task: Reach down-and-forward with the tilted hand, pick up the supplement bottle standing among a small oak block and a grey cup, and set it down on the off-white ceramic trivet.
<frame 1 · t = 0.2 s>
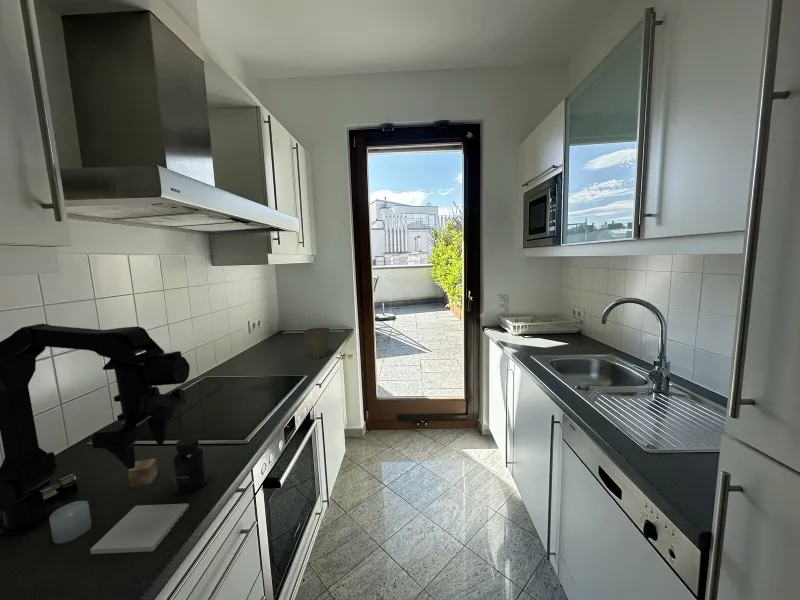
hand: (147, 455, 76), 14 cm above the worktop, tool pointing down, fingers open, 9 cm apart
plant pot: (318, 357, 201), on the worktop
trivet: (144, 528, 74), on the worktop
grey cup: (72, 532, 74), on the worktop
oak block: (144, 480, 91), on the worktop
supplement bottle: (191, 486, 88), on the worktop
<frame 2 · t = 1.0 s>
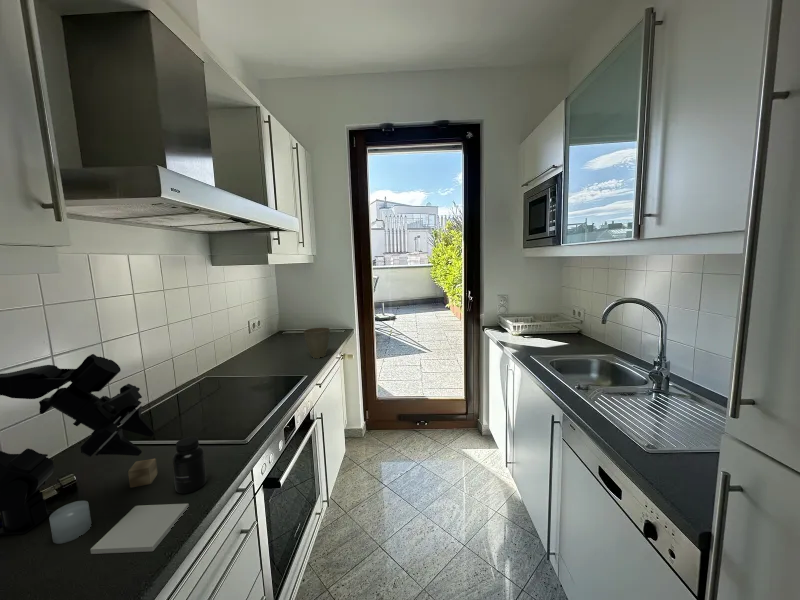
hand: (147, 443, 83), 13 cm above the worktop, tool tilted 45°, fingers open, 9 cm apart
nothing on the worktop moved.
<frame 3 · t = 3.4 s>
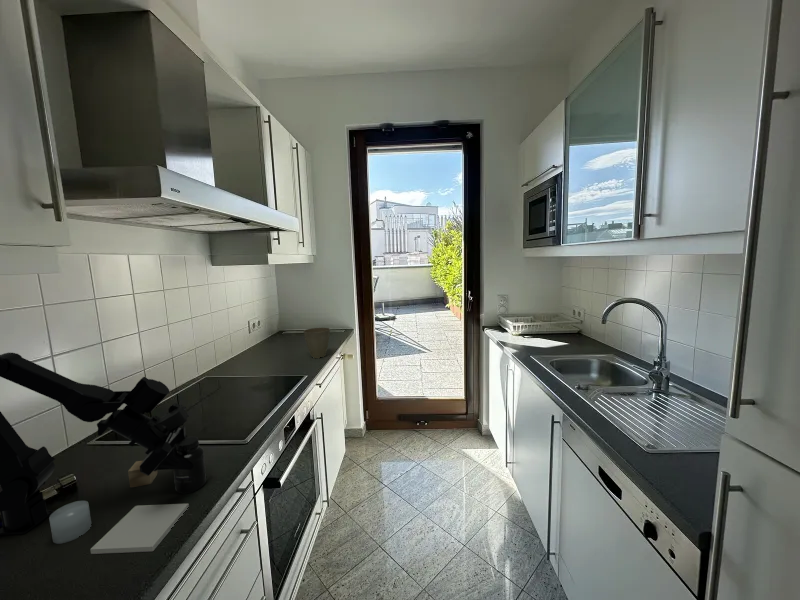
hand: (195, 459, 87), 7 cm above the worktop, tool tilted 45°, fingers closed on supplement bottle, 7 cm apart
supplement bottle: (191, 486, 88), on the worktop, touching gripper
everything else where it was.
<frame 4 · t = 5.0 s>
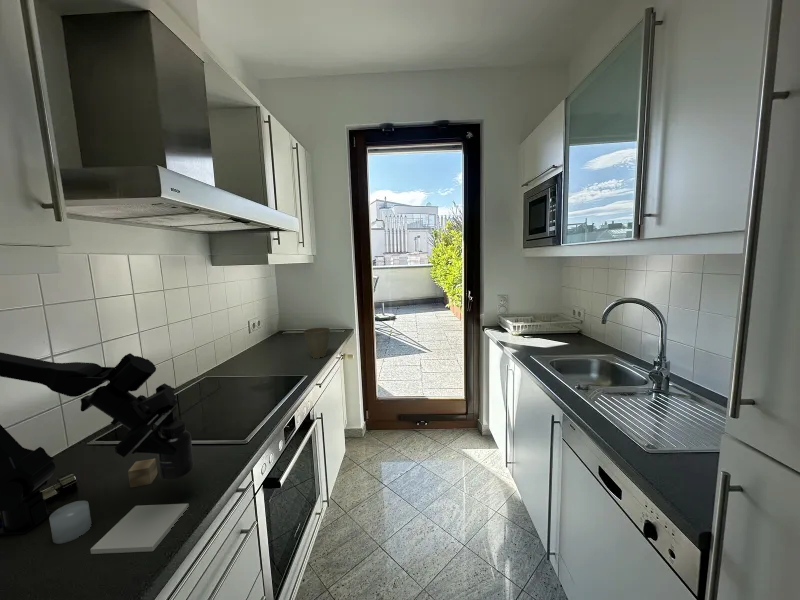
hand: (180, 445, 82), 13 cm above the worktop, tool tilted 45°, fingers closed on supplement bottle, 7 cm apart
supplement bottle: (177, 472, 83), point 6 cm above the worktop, touching gripper
everything else where it was.
when the fingers open (9 cm above the worktop, at t = 6.9 s): supplement bottle drops 1 cm, resting on trivet.
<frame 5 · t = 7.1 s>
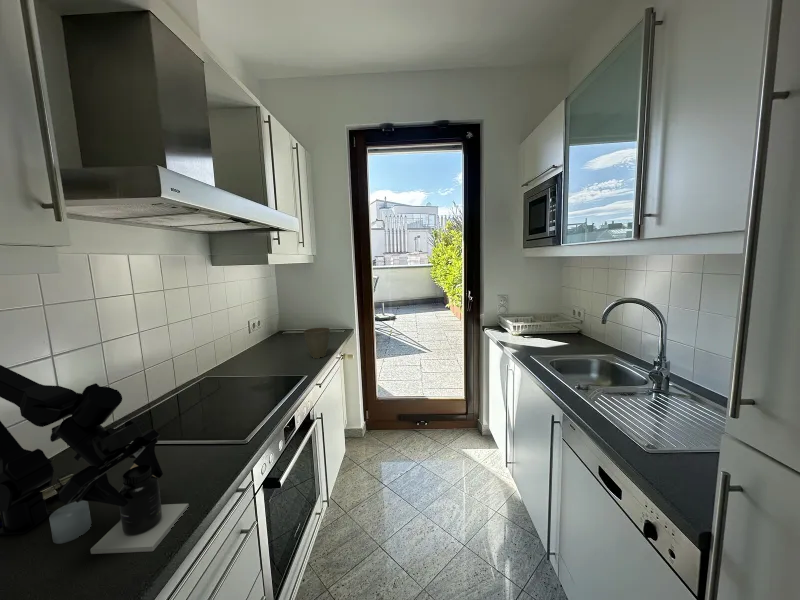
hand: (144, 489, 73), 9 cm above the worktop, tool tilted 45°, fingers open, 9 cm apart
supplement bottle: (143, 524, 74), point 1 cm above the worktop, touching trivet
everything else where it was.
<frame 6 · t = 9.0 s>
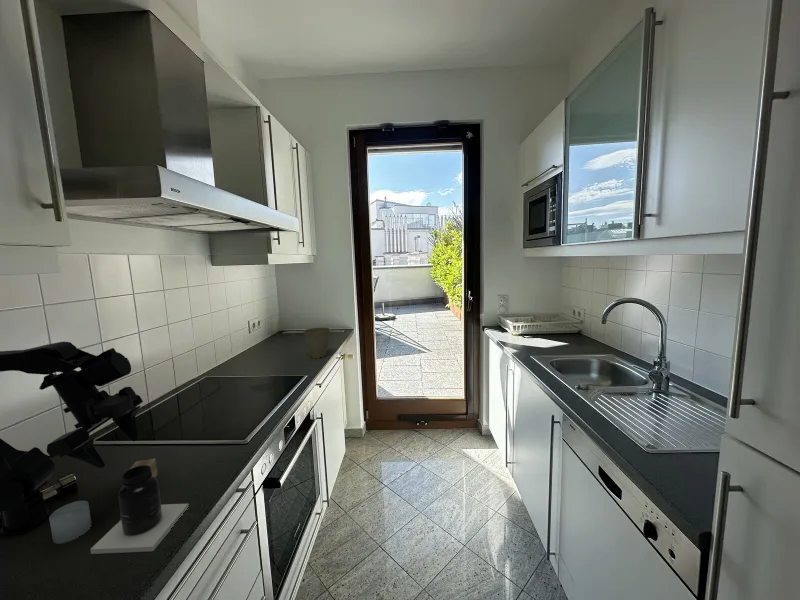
hand: (120, 452, 80), 13 cm above the worktop, tool tilted 20°, fingers open, 9 cm apart
nothing on the worktop moved.
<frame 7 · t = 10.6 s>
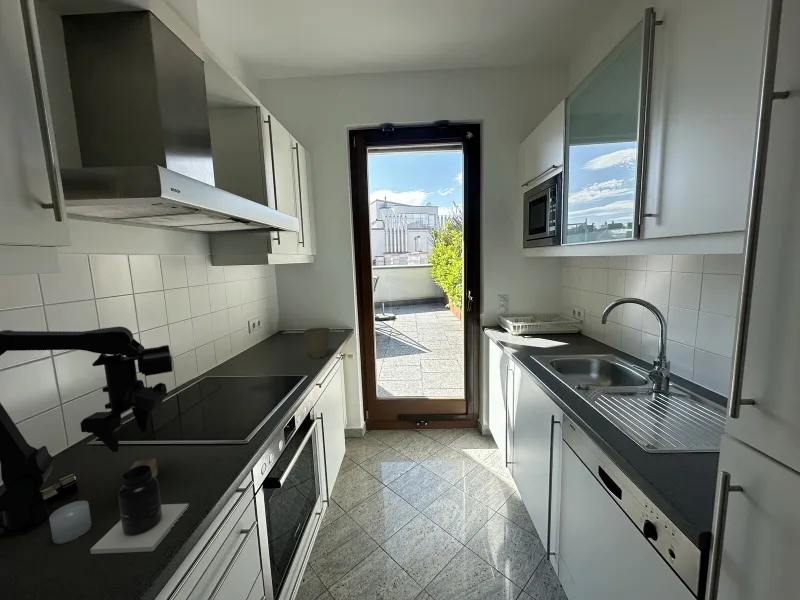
hand: (130, 441, 85), 13 cm above the worktop, tool pointing down, fingers open, 9 cm apart
nothing on the worktop moved.
at the end: supplement bottle 0.2 cm from the trivet (horizontally); supplement bottle tilted 0°; supplement bottle point 0.8 cm above the worktop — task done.
